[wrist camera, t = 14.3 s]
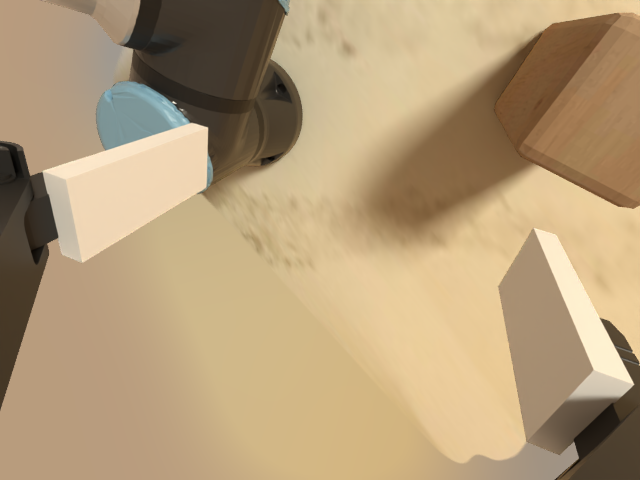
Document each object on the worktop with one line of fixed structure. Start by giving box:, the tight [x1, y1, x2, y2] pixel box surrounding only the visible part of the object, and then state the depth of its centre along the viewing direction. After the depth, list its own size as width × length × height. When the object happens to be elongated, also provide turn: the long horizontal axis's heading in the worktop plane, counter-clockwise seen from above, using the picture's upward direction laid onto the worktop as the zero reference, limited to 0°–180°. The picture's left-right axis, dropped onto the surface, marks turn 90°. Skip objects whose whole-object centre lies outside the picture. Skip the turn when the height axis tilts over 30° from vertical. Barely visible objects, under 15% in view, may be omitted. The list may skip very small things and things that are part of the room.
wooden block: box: [494, 13, 640, 209], centre depth 32 cm, size 10×10×20 cm
